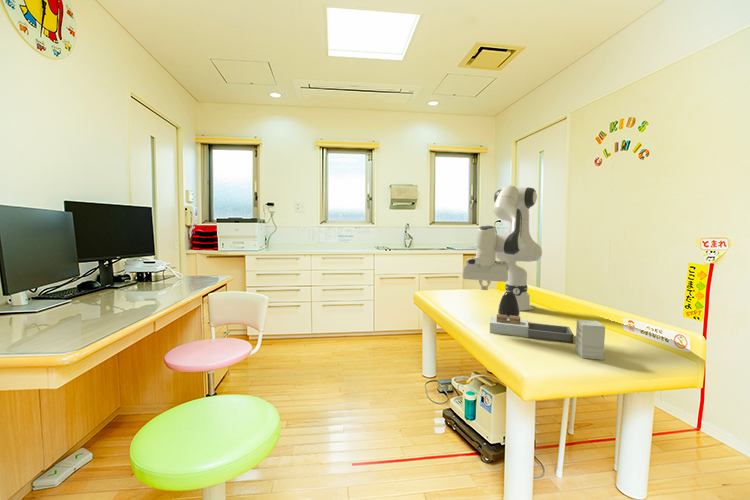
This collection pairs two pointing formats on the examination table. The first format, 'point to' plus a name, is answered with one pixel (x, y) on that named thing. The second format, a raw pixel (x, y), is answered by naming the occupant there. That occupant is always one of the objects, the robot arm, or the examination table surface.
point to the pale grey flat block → (509, 327)
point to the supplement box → (590, 339)
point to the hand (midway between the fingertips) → (484, 289)
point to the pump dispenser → (509, 305)
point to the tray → (550, 332)
